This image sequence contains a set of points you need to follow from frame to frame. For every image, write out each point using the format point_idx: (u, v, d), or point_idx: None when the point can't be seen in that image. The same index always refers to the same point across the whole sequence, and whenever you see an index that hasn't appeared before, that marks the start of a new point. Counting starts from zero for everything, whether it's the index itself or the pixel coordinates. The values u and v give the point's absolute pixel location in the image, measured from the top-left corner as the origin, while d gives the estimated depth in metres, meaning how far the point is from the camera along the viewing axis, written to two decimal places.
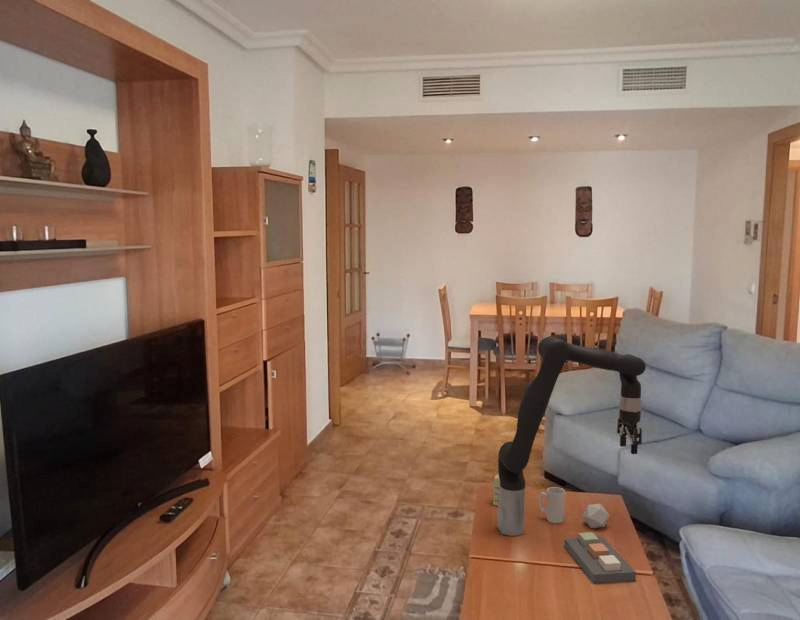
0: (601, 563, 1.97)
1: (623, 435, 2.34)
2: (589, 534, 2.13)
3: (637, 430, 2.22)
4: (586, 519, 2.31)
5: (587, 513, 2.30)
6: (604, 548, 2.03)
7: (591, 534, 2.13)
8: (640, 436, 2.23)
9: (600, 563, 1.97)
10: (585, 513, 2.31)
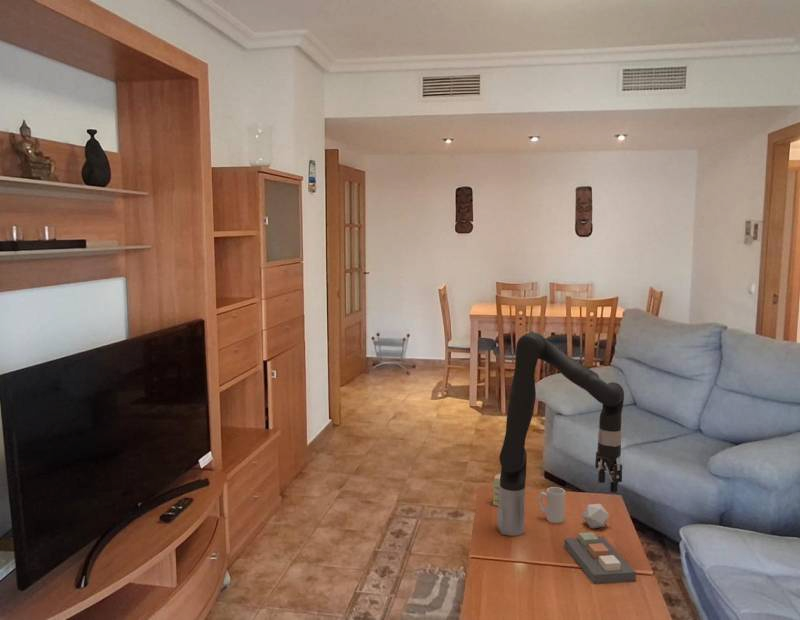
0: (601, 563, 1.97)
1: (602, 470, 2.13)
2: (589, 534, 2.13)
3: (617, 467, 2.01)
4: (586, 519, 2.31)
5: (587, 513, 2.30)
6: (604, 548, 2.03)
7: (591, 534, 2.13)
8: (620, 473, 2.02)
9: (600, 563, 1.97)
10: (585, 513, 2.31)
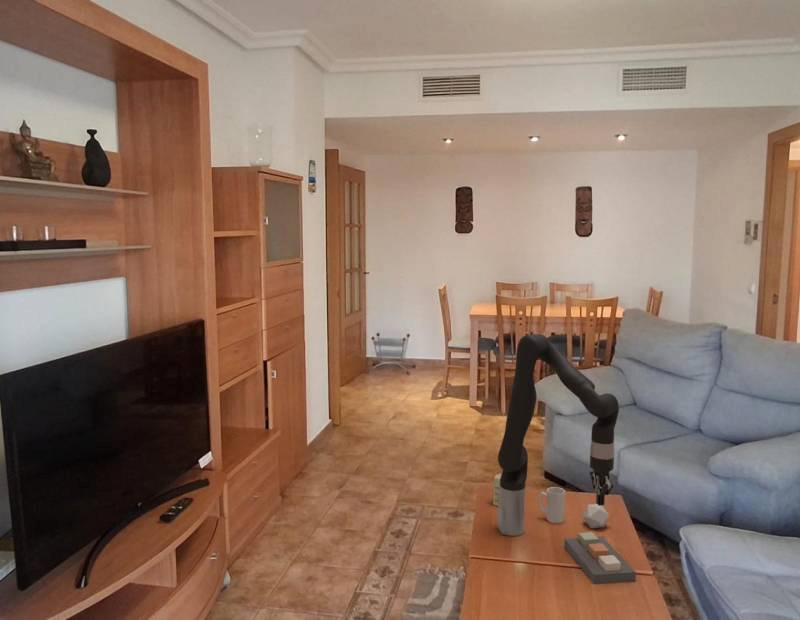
0: (601, 563, 1.97)
1: None
2: (589, 534, 2.13)
3: (608, 487, 1.96)
4: (586, 519, 2.31)
5: (587, 513, 2.30)
6: (604, 548, 2.03)
7: (591, 534, 2.13)
8: (609, 491, 1.98)
9: (600, 563, 1.97)
10: (585, 513, 2.31)
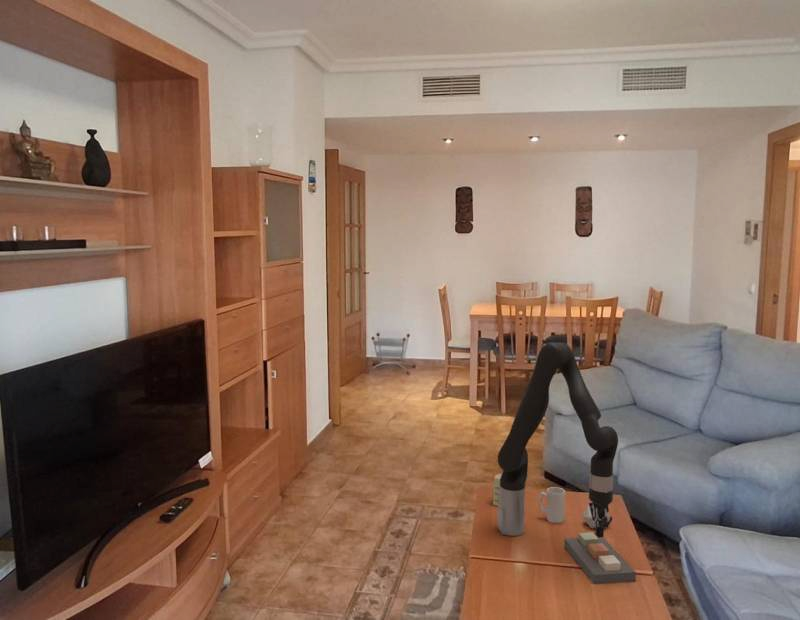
0: (601, 563, 1.97)
1: None
2: (589, 534, 2.13)
3: (607, 520, 1.97)
4: (586, 519, 2.31)
5: (587, 513, 2.30)
6: (604, 548, 2.03)
7: (591, 534, 2.13)
8: (608, 523, 1.99)
9: (600, 563, 1.97)
10: (585, 513, 2.31)
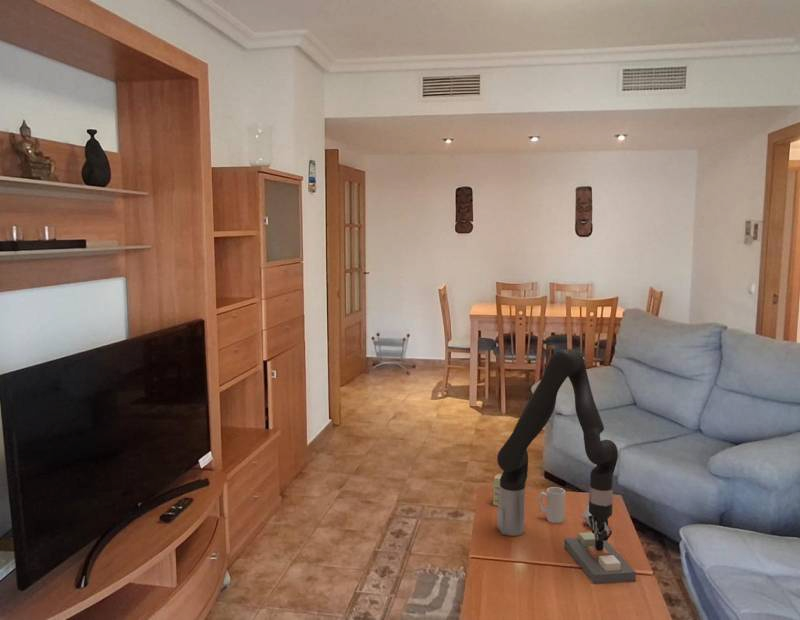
0: (601, 563, 1.97)
1: None
2: (589, 534, 2.13)
3: (606, 534, 1.98)
4: (586, 519, 2.31)
5: (587, 513, 2.30)
6: (604, 550, 2.03)
7: (591, 534, 2.13)
8: (608, 537, 1.99)
9: (600, 563, 1.97)
10: (585, 513, 2.31)
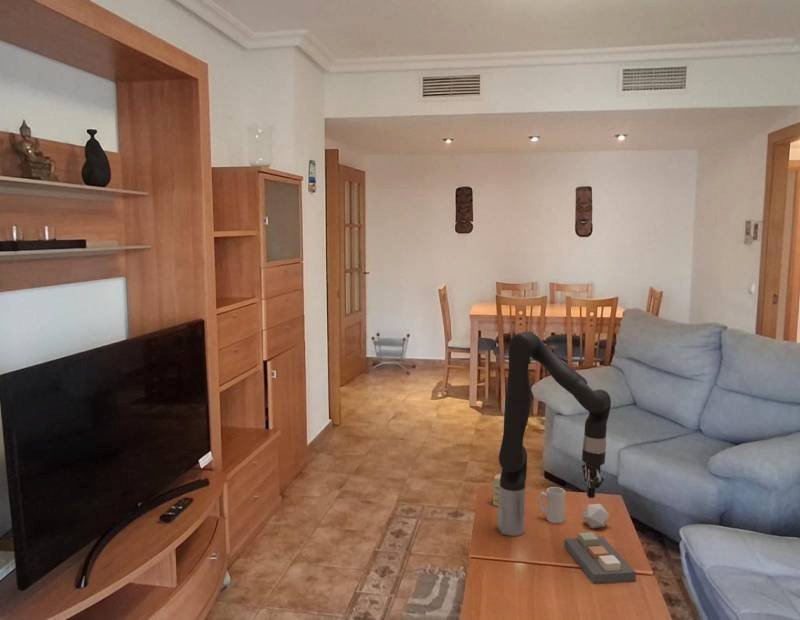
0: (601, 563, 1.97)
1: None
2: (589, 534, 2.13)
3: (598, 480, 2.02)
4: (586, 519, 2.31)
5: (587, 513, 2.30)
6: (604, 551, 2.03)
7: (591, 534, 2.13)
8: (599, 484, 2.04)
9: (600, 563, 1.97)
10: (585, 513, 2.31)
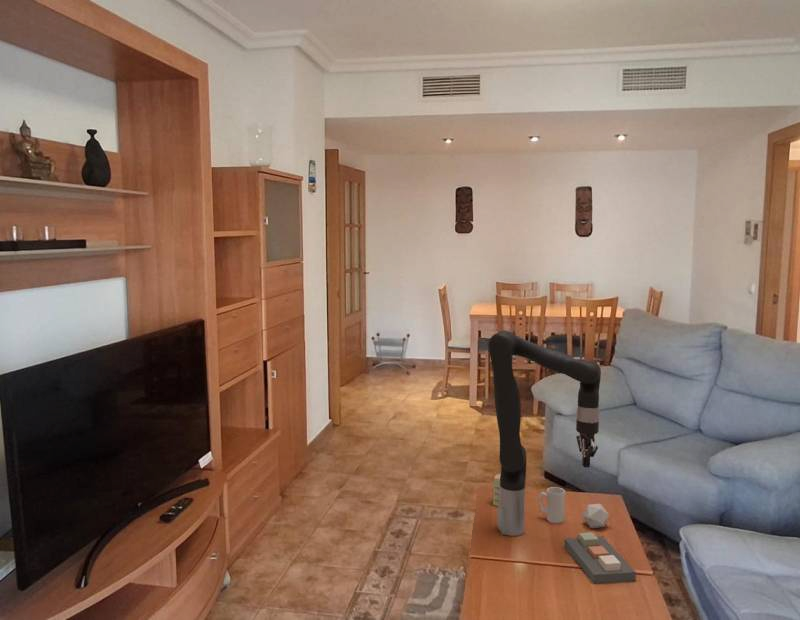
0: (601, 563, 1.97)
1: None
2: (589, 534, 2.13)
3: (592, 449, 2.07)
4: (586, 519, 2.31)
5: (587, 513, 2.30)
6: (604, 551, 2.03)
7: (591, 534, 2.13)
8: (594, 453, 2.08)
9: (600, 563, 1.97)
10: (585, 513, 2.31)
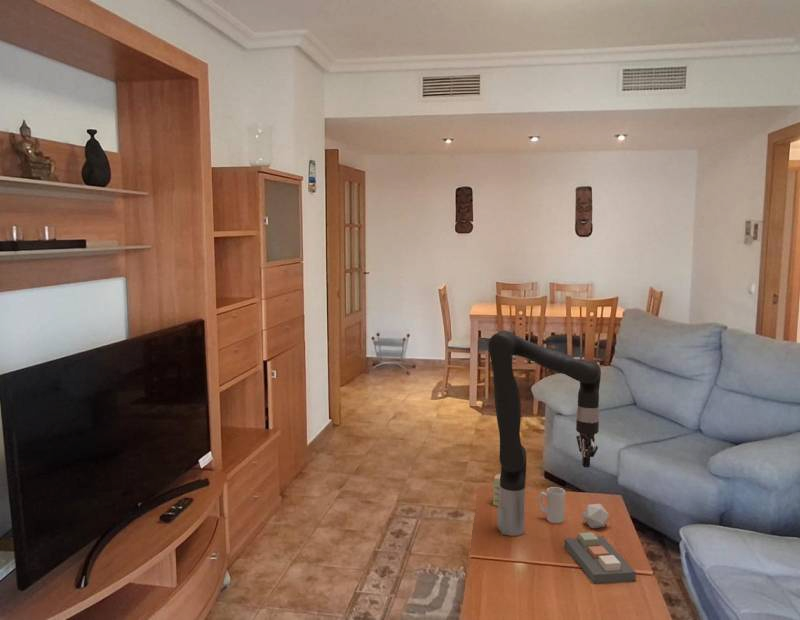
0: (601, 563, 1.97)
1: None
2: (589, 534, 2.13)
3: (592, 449, 2.07)
4: (586, 519, 2.31)
5: (587, 513, 2.30)
6: (604, 551, 2.03)
7: (591, 534, 2.13)
8: (594, 453, 2.08)
9: (600, 563, 1.97)
10: (585, 513, 2.31)
